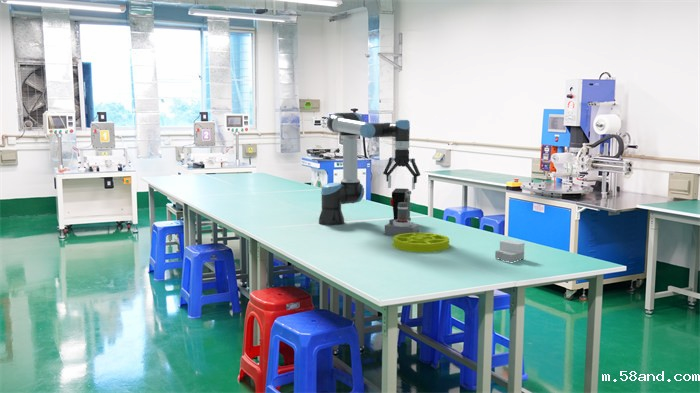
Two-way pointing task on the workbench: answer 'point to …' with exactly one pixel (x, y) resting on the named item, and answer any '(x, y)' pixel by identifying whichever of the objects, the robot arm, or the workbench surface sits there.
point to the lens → (402, 212)
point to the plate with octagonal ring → (400, 227)
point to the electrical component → (400, 196)
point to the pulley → (420, 242)
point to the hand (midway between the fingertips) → (401, 188)
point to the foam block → (510, 251)
